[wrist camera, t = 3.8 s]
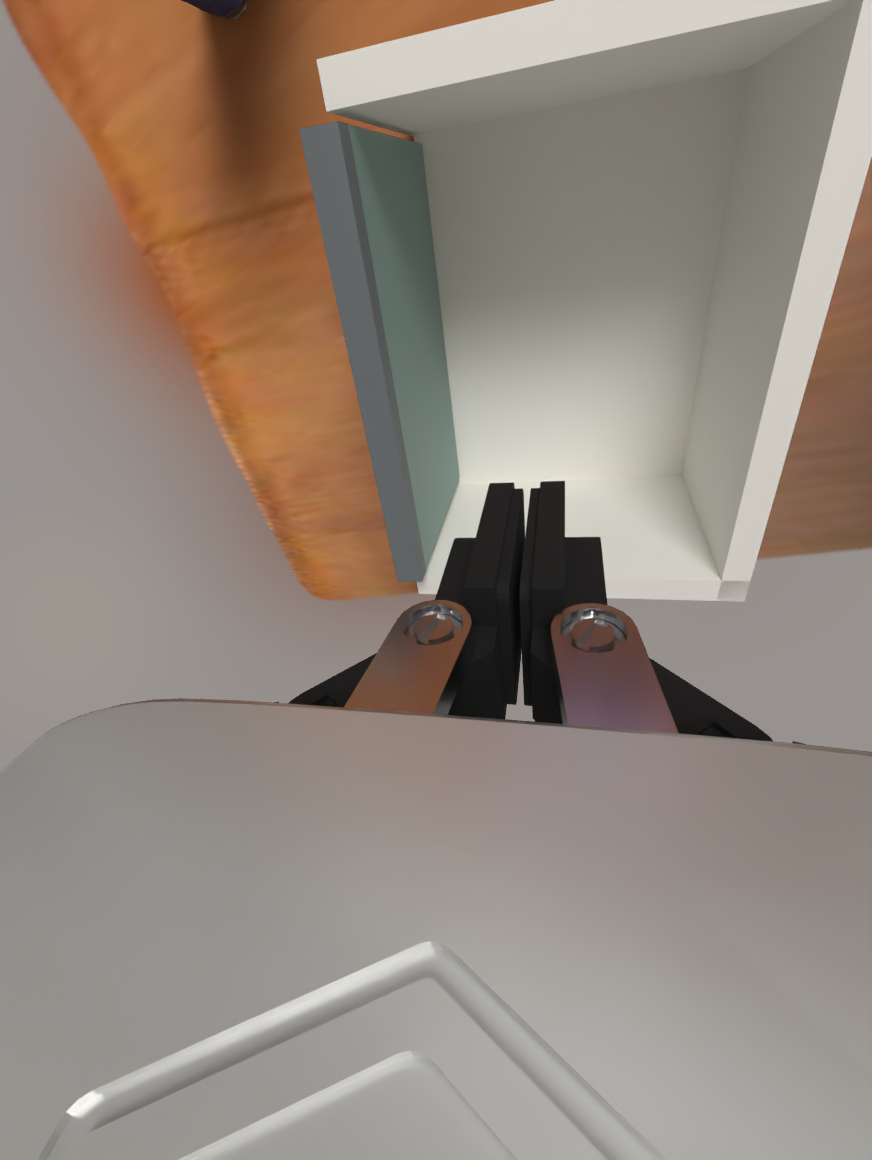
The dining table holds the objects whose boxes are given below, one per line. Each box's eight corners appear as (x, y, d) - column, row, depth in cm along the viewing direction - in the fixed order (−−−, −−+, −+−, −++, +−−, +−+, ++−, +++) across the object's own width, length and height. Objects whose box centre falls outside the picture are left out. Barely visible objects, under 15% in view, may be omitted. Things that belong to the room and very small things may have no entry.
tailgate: (422, 143, 25) (337, 121, 16) (460, 477, 36) (422, 581, 26) (397, 148, 25) (299, 129, 16) (442, 477, 36) (397, 581, 27)
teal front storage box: (779, 25, 21) (943, -96, 12) (695, 485, 34) (744, 601, 24) (409, 104, 25) (316, 59, 16) (456, 491, 37) (419, 593, 28)
